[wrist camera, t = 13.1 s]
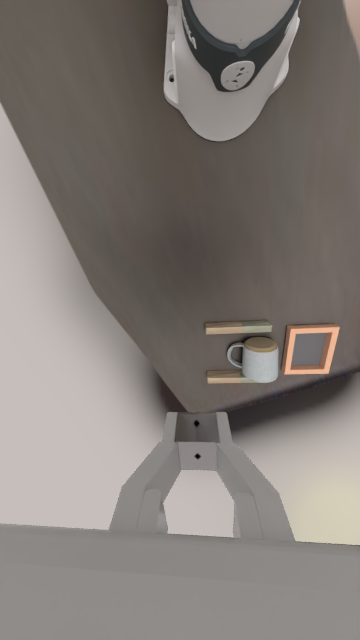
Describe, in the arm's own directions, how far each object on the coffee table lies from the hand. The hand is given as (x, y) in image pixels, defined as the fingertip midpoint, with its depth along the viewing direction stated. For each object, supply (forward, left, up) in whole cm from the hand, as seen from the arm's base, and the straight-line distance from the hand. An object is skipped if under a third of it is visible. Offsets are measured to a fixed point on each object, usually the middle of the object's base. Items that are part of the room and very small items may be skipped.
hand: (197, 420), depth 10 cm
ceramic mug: (+17, +13, -34) cm, 40 cm away
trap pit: (+16, +26, -34) cm, 46 cm away
